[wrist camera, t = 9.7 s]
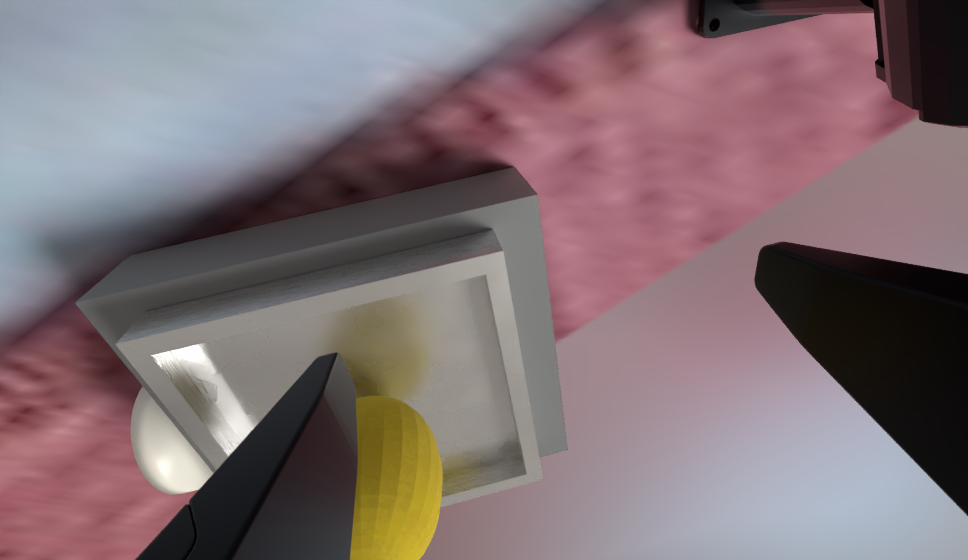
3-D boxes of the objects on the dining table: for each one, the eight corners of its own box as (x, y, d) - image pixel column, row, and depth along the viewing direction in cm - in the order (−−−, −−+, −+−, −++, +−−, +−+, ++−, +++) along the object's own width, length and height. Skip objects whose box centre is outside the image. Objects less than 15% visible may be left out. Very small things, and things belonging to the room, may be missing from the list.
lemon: (286, 385, 19) (224, 588, 12) (405, 339, 19) (410, 518, 12) (348, 459, 22) (326, 657, 15) (452, 420, 22) (477, 601, 15)
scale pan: (493, 229, 18) (503, 250, 16) (533, 448, 25) (543, 479, 23) (143, 312, 17) (115, 344, 15) (289, 513, 24) (281, 550, 23)
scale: (514, 166, 21) (552, 212, 16) (547, 400, 29) (579, 479, 24) (107, 260, 20) (6, 342, 15) (262, 474, 28) (232, 574, 23)
